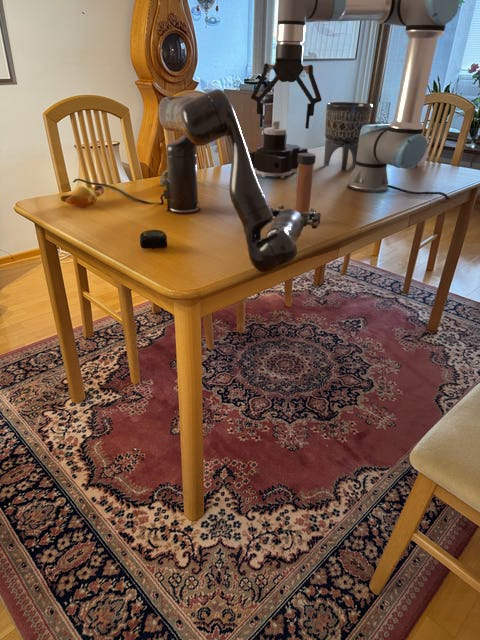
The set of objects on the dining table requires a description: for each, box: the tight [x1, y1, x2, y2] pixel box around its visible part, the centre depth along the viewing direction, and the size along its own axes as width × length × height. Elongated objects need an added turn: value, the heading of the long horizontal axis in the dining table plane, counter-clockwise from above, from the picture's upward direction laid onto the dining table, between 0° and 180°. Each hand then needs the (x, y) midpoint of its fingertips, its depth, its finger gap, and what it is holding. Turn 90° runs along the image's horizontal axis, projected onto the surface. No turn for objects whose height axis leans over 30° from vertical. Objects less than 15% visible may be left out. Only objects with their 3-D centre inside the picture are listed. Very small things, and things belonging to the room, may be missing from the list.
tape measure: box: [139, 229, 168, 250], centre depth 117 cm, size 7×7×4 cm
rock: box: [159, 168, 168, 187], centre depth 175 cm, size 13×9×6 cm, turn 131°
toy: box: [60, 185, 105, 208], centre depth 150 cm, size 11×6×15 cm
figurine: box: [416, 136, 430, 167], centre depth 213 cm, size 8×15×13 cm, turn 145°
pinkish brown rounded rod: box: [294, 163, 315, 216], centre depth 134 cm, size 4×4×19 cm
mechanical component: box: [248, 120, 310, 179], centre depth 191 cm, size 22×21×30 cm
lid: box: [297, 152, 317, 165], centre depth 130 cm, size 5×5×2 cm
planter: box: [323, 101, 374, 172], centre depth 204 cm, size 20×20×26 cm
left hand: (297, 210), depth 127 cm, fingers open, 8 cm apart
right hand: (284, 127), depth 135 cm, fingers open, 13 cm apart
